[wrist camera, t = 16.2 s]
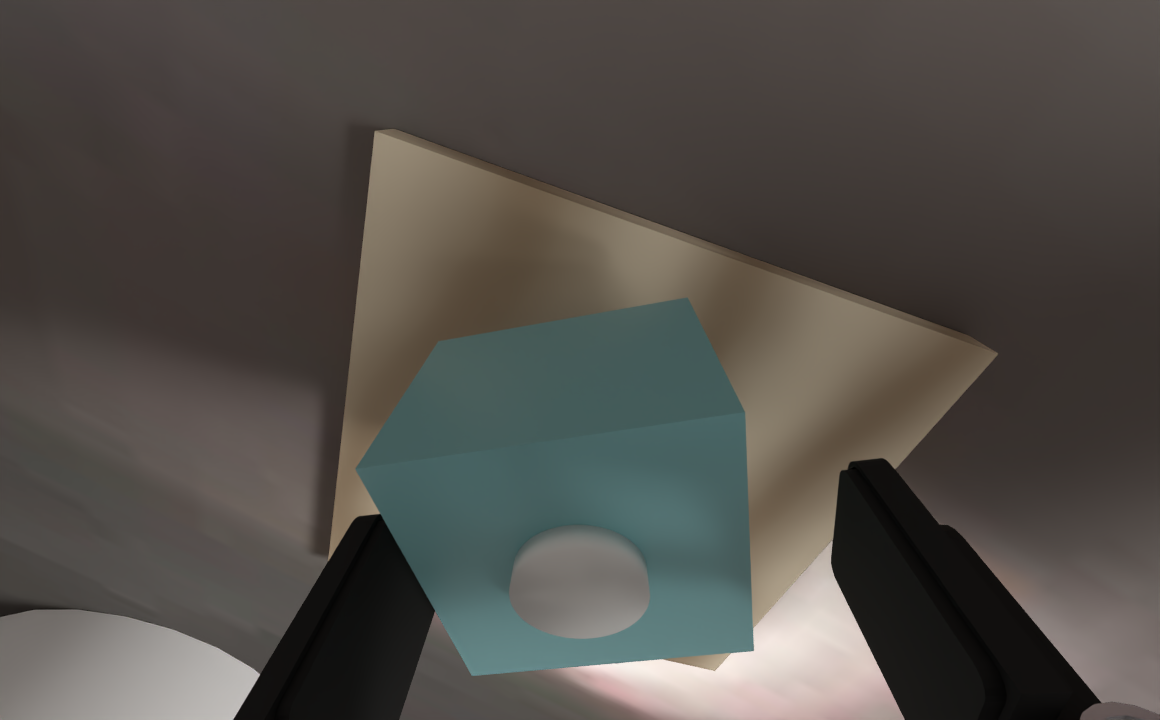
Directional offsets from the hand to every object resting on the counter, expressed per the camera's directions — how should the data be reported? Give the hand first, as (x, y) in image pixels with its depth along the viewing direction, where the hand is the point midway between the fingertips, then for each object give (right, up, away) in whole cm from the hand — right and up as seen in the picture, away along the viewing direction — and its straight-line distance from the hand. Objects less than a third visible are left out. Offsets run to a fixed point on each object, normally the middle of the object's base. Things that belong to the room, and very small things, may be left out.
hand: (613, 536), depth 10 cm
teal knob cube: (-1, +2, +2) cm, 3 cm away
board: (0, 0, +8) cm, 8 cm away
